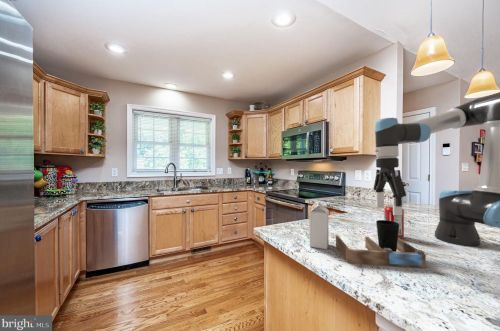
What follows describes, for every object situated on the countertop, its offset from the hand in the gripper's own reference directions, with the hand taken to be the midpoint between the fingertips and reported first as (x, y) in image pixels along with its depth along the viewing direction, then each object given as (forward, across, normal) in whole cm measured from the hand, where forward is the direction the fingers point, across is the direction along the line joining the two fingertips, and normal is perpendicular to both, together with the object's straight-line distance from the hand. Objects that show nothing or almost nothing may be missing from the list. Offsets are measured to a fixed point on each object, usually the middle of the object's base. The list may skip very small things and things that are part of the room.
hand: (388, 211), depth 83 cm
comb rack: (+16, +4, -7) cm, 18 cm away
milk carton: (+16, -4, -26) cm, 31 cm away
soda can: (+17, -21, +12) cm, 29 cm away
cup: (+17, 0, -1) cm, 17 cm away
